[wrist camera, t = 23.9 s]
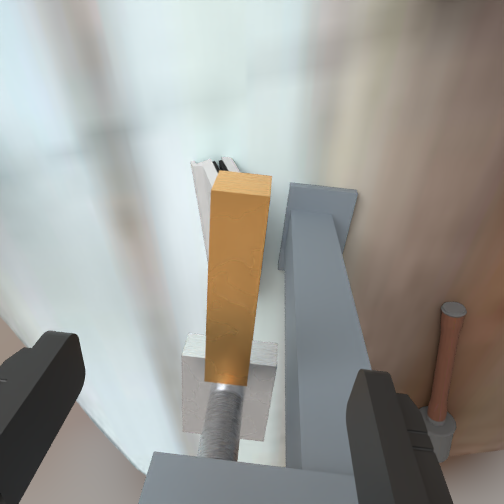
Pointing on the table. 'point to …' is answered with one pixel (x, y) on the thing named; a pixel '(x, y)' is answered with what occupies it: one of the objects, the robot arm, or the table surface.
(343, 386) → the press frame
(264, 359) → the ram
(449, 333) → the mallet
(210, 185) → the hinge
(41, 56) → the table surface
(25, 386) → the robot arm
